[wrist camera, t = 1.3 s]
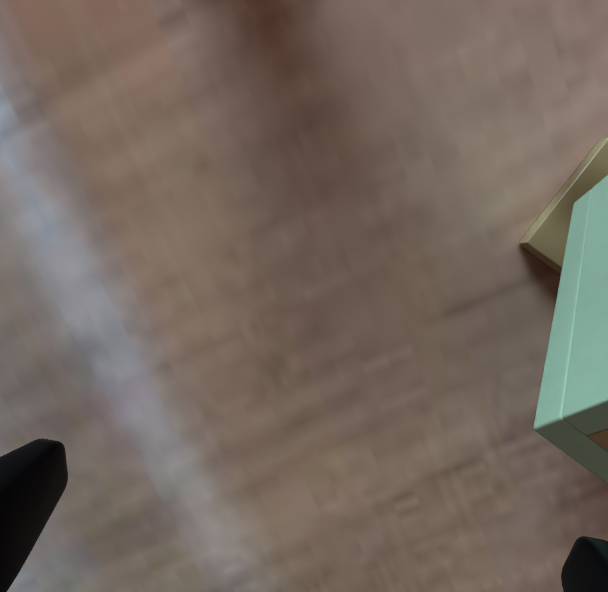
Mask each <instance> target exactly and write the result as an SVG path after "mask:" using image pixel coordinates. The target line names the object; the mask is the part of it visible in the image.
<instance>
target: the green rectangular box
mask: <svg viewBox="0 0 608 592" xmlns="http://www.w3.org/2000/svg"><path fill="white" fill-rule="evenodd" d="M533 428H534V430H535V431H536V432H538V433H539V434H540V435H542V436H543V437H544V438H546V439H547V440H548V441H550V442H551V443H553V444H554V445H555V446H557V447H558V448H559V449H561V450H562V451H563V452H565V453H566V454H567V455H569V456H570V457H571V458H573V459H574V460H575V461H577V462H578V463H580V464H581V465H582V466H584V467H585V468H586V469H588V470H589V471H590V472H592V473H593V474H594V475H596V476H597V477H598V478H600V479H601V480H603V481H604V482H605V483H607V484H608V175H607V176H606V177H605V178H604V179H602V180H601V181H600V182H599V183H597V184H596V185H595V186H594V187H593V188H592V189H591V190H589V191H588V192H587V193H586V194H584V195H583V196H582V197H581V198H579V199H578V200H577V201H576V202H575V203H574V205H573V211H572V216H571V222H570V227H569V233H568V238H567V244H566V249H565V255H564V260H563V266H562V271H561V277H560V282H559V288H558V293H557V299H556V305H555V310H554V316H553V321H552V327H551V332H550V338H549V343H548V349H547V354H546V360H545V365H544V371H543V376H542V382H541V387H540V393H539V399H538V404H537V410H536V415H535V421H534V426H533Z"/></svg>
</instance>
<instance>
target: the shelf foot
mask: <svg viewBox="0 0 608 592" xmlns="http://www.w3.org/2000/svg"><path fill="white" fill-rule="evenodd" d="M607 175H608V138H606V139H604V140H601V141H599V142H597V144H596V145H595V146H594V147H593V149H592V150H591V151H590V153H589V154H588V155H587V156H586V158H585V159H584V160H583V161H582V163H581V164H580V165H579V167H578V168H577V169H576V170H575V172H574V173H573V174H572V175H571V177H570V178H569V179H568V181H567V182H566V183H565V184H564V186H563V187H562V188H561V190H560V191H559V192H558V193H557V195H556V196H555V197H554V198H553V200H552V201H551V202H550V204H549V205H548V206H547V207H546V209H545V210H544V211H543V212H542V214H541V215H540V216H539V218H538V219H537V220H536V221H535V223H534V224H533V225H532V227H531V228H530V229H529V230H528V232H527V233H526V234H525V235H524V237H523V238H522V239H521V241H520V242H519V245H521V246H522V247H524V248H525V249H526V250H528V251H529V252H530V253H532V254H533V255H535V256H536V257H537V258H539V259H540V260H541V261H543V262H544V263H545V264H547V265H548V266H550V267H551V268H552V269H554V270H555V271H556V272H558V273H559V274H561V271H562V266H563V260H564V255H565V249H566V244H567V238H568V233H569V227H570V222H571V216H572V211H573V205H574V203H575V202H576V201H577V200H578V199H579V198H581V197H582V196H583V195H584V194H586V193H587V192H588V191H589V190H591V189H592V188H593V187H594V186H595V185H596V184H597V183H599V182H600V181H601V180H602V179H604V178H605V177H606V176H607Z"/></svg>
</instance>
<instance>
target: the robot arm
mask: <svg viewBox="0 0 608 592" xmlns="http://www.w3.org/2000/svg"><path fill="white" fill-rule="evenodd" d="M67 481H68V472H67V463H66V454H65V447H64V445H63V444H62V443H61V442H59V441H54V440H48V439H37V440H34V441H32V442H30V443H28V444H26V445H24V446H22V447H20V448H18V449H16V450H14V451H12V452H10V453H8V454H6V455H3V456H1V457H0V592H7V590H8V589H9V587H10V586H11V584H12V583H13V581H14V580H15V578H16V576H17V575H18V573H19V571H20V570H21V568H22V566H23V565H24V563H25V561H26V559H27V557H28V556H29V554H30V552H31V550H32V548H33V547H34V545H35V543H36V541H37V539H38V537H39V536H40V534H41V532H42V530H43V528H44V527H45V525H46V523H47V521H48V519H49V517H50V516H51V514H52V512H53V510H54V508H55V507H56V505H57V503H58V501H59V499H60V497H61V496H62V494H63V492H64V490H65V488H66V485H67ZM561 580H562V587H563V591H564V592H608V541H605V540H602V539H596V538H591V537H585V536H582V537H580V538H578V539H577V540H576V541H575V544H574V546H573V548H572V550H571V552H570V554H569V556H568V558H567V560H566V562H565V564H564V566H563V568H562V573H561Z"/></svg>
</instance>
